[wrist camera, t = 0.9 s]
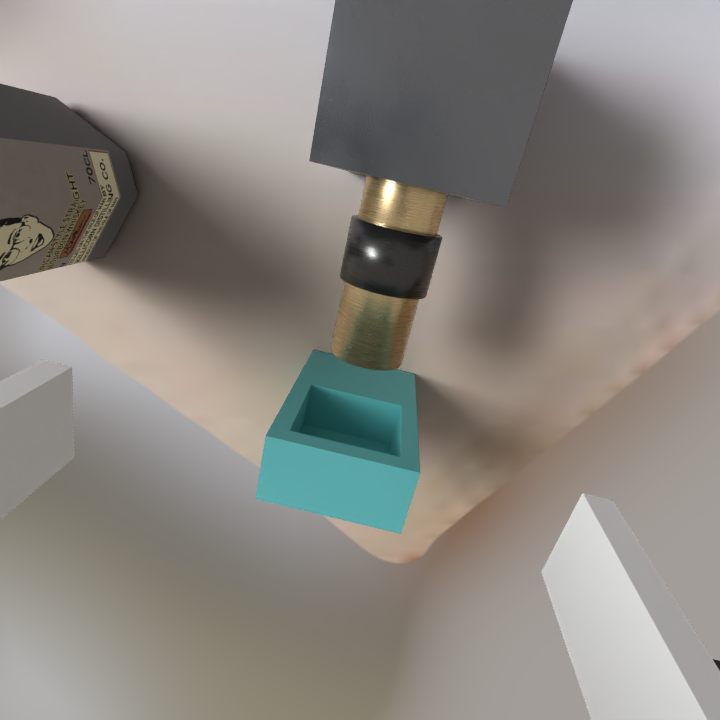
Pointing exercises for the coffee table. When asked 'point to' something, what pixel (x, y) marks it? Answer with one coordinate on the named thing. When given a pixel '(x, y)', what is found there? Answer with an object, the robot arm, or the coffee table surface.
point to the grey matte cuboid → (436, 90)
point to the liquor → (56, 185)
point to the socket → (345, 444)
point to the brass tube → (386, 271)
